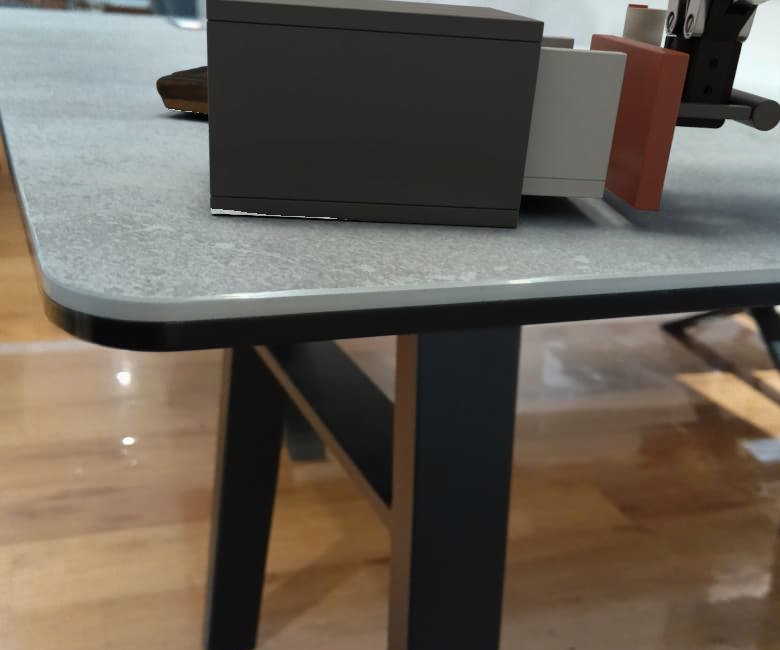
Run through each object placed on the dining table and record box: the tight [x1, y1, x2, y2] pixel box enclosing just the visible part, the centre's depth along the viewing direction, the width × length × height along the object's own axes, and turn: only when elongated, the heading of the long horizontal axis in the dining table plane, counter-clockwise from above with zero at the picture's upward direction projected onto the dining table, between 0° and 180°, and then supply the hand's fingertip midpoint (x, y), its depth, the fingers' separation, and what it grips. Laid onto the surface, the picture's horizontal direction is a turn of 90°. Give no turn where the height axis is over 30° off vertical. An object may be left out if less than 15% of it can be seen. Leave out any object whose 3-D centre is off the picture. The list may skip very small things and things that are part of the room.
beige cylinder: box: [622, 3, 667, 47], centre depth 91 cm, size 4×4×6 cm
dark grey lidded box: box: [205, 0, 545, 229], centre depth 42 cm, size 14×12×9 cm
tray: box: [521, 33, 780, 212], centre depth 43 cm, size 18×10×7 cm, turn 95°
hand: (686, 123), depth 44 cm, fingers closed
